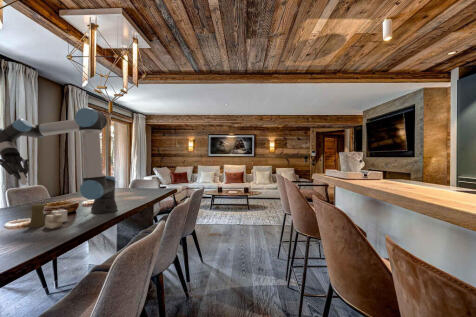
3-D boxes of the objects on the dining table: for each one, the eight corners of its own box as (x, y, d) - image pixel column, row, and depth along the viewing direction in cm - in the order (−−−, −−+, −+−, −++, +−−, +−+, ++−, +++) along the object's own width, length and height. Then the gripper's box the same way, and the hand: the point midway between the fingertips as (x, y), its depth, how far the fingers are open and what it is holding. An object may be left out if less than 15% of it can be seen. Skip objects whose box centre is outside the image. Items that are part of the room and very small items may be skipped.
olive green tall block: (45, 225, 117) (46, 204, 117) (29, 228, 112) (30, 206, 112) (44, 223, 121) (44, 202, 121) (29, 225, 117) (29, 204, 117)
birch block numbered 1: (56, 224, 119) (56, 212, 119) (62, 226, 117) (62, 214, 117) (45, 227, 114) (45, 215, 115) (51, 228, 113) (51, 216, 113)
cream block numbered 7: (61, 220, 128) (61, 209, 128) (67, 221, 126) (67, 209, 126) (51, 222, 123) (51, 210, 123) (56, 223, 121) (57, 211, 121)
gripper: (20, 156, 135) (36, 186, 128) (-11, 156, 123) (5, 189, 116) (26, 147, 133) (42, 177, 126) (-5, 146, 121) (11, 179, 114)
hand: (24, 183), depth 121 cm, fingers closed
